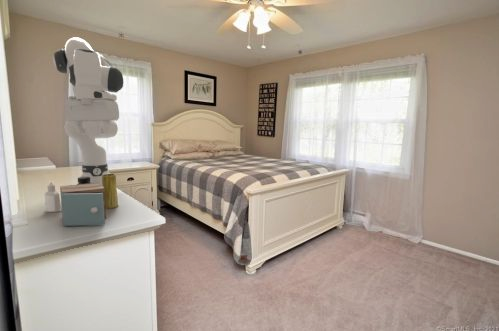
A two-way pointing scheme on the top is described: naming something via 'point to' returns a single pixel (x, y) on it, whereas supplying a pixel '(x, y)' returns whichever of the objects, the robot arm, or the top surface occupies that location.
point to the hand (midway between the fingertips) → (93, 133)
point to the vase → (110, 190)
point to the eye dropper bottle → (52, 199)
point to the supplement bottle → (84, 180)
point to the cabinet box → (85, 190)
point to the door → (82, 209)
